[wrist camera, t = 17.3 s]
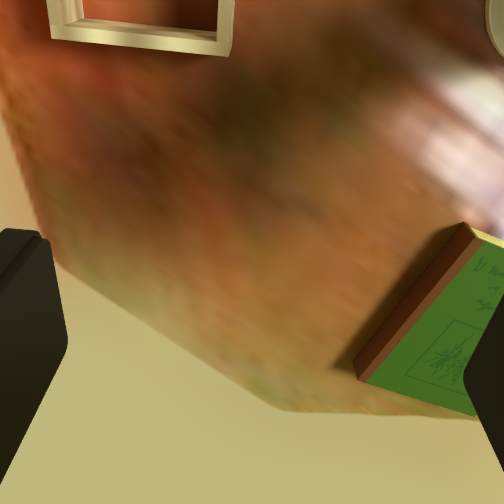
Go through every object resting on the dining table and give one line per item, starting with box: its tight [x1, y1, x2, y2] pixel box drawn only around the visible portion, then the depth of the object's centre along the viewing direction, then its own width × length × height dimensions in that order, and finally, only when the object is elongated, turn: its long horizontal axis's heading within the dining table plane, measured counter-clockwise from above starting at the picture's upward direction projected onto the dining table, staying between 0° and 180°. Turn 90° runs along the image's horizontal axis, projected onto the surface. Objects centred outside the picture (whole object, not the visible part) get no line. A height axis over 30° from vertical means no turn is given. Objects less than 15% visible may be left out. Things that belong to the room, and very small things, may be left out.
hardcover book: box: [353, 222, 504, 417], centre depth 57 cm, size 25×19×4 cm
